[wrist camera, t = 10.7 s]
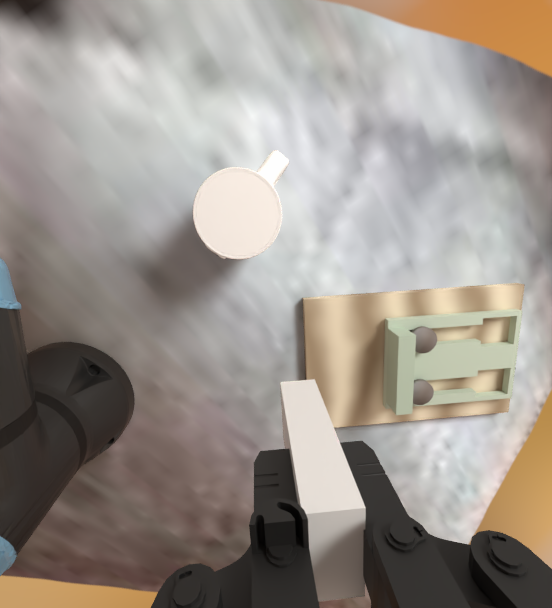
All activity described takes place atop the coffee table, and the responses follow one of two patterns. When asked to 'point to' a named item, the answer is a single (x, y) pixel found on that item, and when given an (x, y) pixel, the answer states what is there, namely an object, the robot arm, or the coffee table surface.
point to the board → (370, 349)
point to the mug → (240, 209)
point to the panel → (445, 359)
